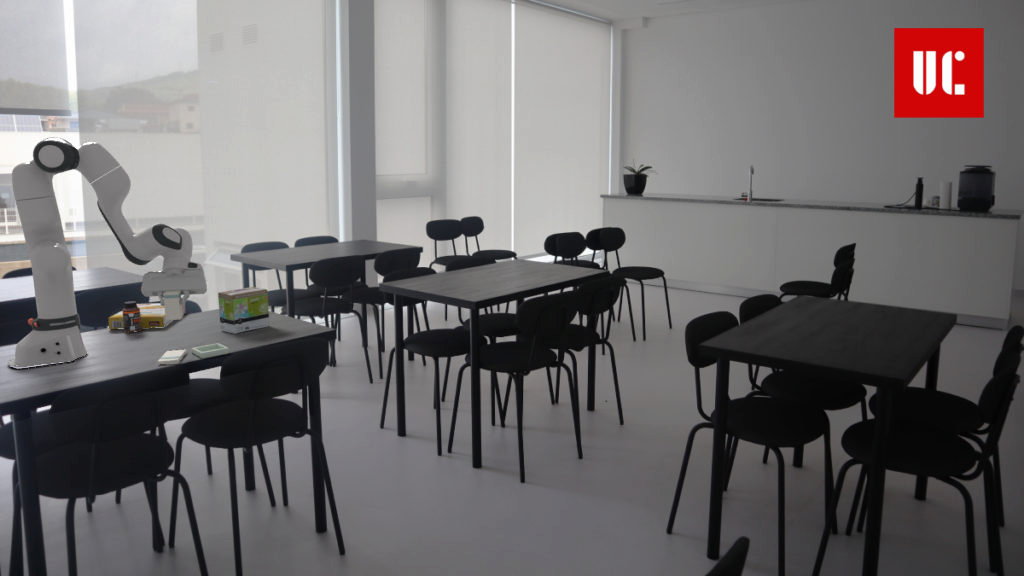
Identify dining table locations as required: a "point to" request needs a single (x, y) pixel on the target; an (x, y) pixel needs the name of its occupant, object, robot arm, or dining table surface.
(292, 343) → the dining table surface
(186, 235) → the robot arm
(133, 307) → the supplement bottle
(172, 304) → the white teal striped box
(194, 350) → the tray
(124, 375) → the dining table surface
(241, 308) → the tea box
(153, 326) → the cereal box
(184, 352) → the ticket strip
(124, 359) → the dining table surface
